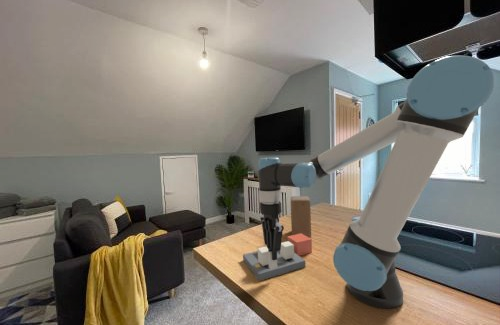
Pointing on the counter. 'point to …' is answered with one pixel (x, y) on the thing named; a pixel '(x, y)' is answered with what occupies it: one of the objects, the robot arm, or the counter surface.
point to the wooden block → (301, 215)
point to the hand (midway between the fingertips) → (273, 267)
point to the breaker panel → (266, 272)
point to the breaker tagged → (263, 256)
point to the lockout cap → (301, 244)
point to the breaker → (287, 250)
